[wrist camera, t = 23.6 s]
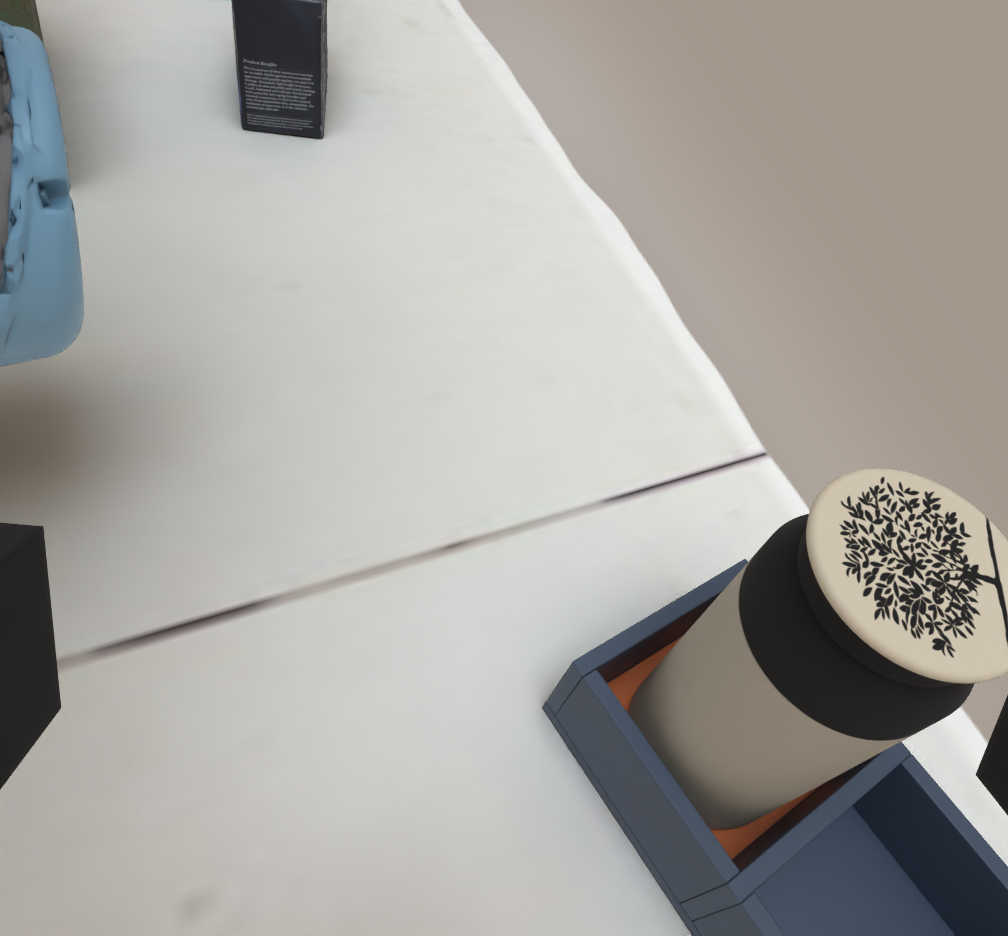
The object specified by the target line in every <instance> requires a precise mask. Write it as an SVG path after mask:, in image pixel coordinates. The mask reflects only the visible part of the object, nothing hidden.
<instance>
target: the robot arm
mask: <svg viewBox="0 0 1008 936" xmlns="http://www.w3.org/2000/svg"><path fill="white" fill-rule="evenodd" d="M69 191H70V181H69V175H68V169H67V154H66V148H65V141H64V135H63V129H62V123H61V117H60V112H59V106H58V101H57V96H56V91H55V86H54V81H53V76H52V72H51V68H50V64H49V60H48V56H47V53H46V50H45V47H44V45H43V43H42V41H41V40H40V38H39V37H38V36H37V35H36V34H35V33H33V32H32V31H30V30H28V29H25V28H23V27H16V26H11V25H9V24H8V23H5V22H3V21H0V367H2V366H7V365H12V364H17V363H22V362H27V361H32V360H37V359H42V358H47V357H50V356H53V355H56V354H58V353H60V352H62V351H64V350H65V349H66V348H68V347H69V346H70V345H71V344H72V343H73V341H74V340H75V339H76V337H77V336H78V334H79V332H80V329H81V326H82V322H83V315H84V299H83V283H82V270H81V260H80V251H79V242H78V234H77V227H76V220H75V213H74V208H73V203H72V199H71V197H70V195H69ZM60 709H61V701H60V691H59V681H58V671H57V661H56V651H55V640H54V630H53V620H52V610H51V600H50V590H49V580H48V569H47V559H46V549H45V539H44V529H43V526H31V525H20V524H8V523H0V789H1V788H2V787H3V785H4V784H5V782H6V781H7V780H8V778H9V777H10V776H11V774H12V773H13V772H14V770H15V769H16V768H17V766H18V765H19V764H20V762H21V761H22V760H23V758H24V757H25V756H26V754H27V753H28V752H29V750H30V749H31V748H32V746H33V745H34V744H35V742H36V741H37V740H38V738H39V737H40V736H41V734H42V733H43V732H44V730H45V729H46V728H47V726H48V725H49V723H50V722H51V721H52V719H53V718H54V717H55V715H56V714H57V713H58V711H59V710H60ZM976 776H977V777H978V778H979V780H980V781H981V782H982V783H983V785H984V786H985V787H986V788H987V790H988V791H989V792H990V793H991V795H992V796H993V797H994V798H995V800H996V801H997V802H998V804H999V805H1000V806H1001V807H1002V809H1003V810H1004V811H1005V812H1006V814H1007V815H1008V696H1007V698H1006V701H1005V703H1004V706H1003V708H1002V711H1001V713H1000V716H999V718H998V720H997V723H996V725H995V728H994V730H993V733H992V735H991V738H990V740H989V743H988V745H987V748H986V750H985V753H984V755H983V758H982V760H981V763H980V765H979V768H978V770H977V773H976Z"/></svg>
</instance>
